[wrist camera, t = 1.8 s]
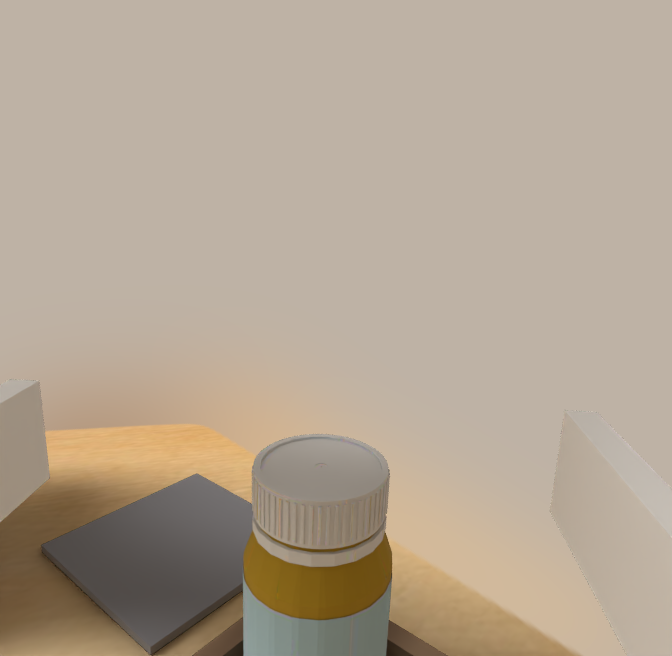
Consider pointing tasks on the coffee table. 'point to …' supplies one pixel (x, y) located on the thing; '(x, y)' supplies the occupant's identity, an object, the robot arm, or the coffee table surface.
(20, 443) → the robot arm
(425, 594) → the coffee table surface
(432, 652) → the walnut collar
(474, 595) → the coffee table surface
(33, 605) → the coffee table surface
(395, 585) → the coffee table surface
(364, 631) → the bottle
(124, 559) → the charcoal mat
